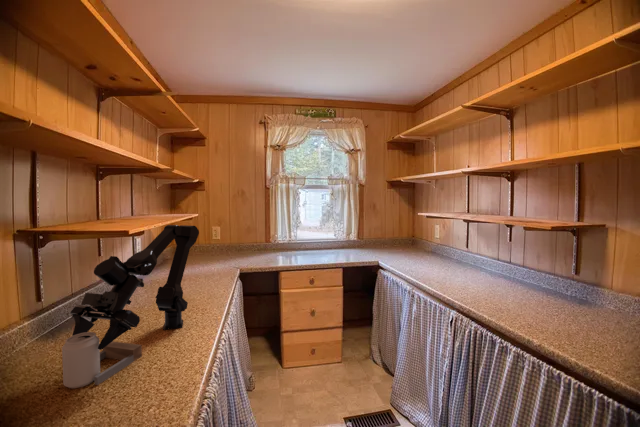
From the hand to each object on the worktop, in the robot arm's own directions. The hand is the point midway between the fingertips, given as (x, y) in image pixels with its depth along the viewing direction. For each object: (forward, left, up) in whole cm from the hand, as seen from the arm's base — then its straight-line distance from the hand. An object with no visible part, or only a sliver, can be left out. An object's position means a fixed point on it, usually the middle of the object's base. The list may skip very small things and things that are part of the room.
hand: (85, 347), depth 76 cm
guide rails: (-4, +3, -9) cm, 10 cm away
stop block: (-9, +6, -9) cm, 14 cm away
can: (+1, -1, -9) cm, 9 cm away
